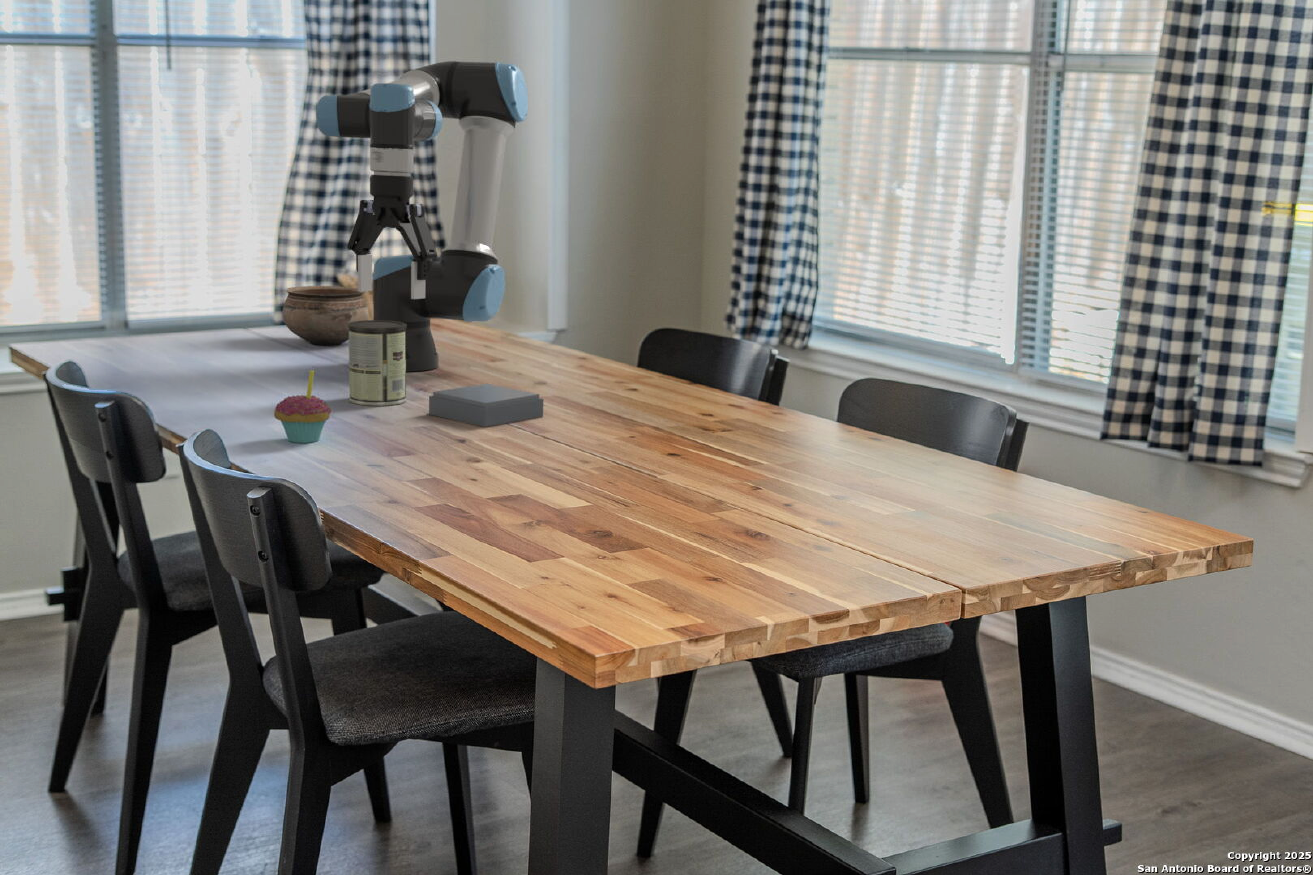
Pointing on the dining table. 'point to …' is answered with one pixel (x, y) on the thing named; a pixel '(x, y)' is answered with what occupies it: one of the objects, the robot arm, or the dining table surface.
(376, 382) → the coffee can
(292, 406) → the cupcake
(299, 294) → the cooking pot
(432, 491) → the dining table surface
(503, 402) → the pedestal
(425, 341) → the robot arm
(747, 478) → the dining table surface
